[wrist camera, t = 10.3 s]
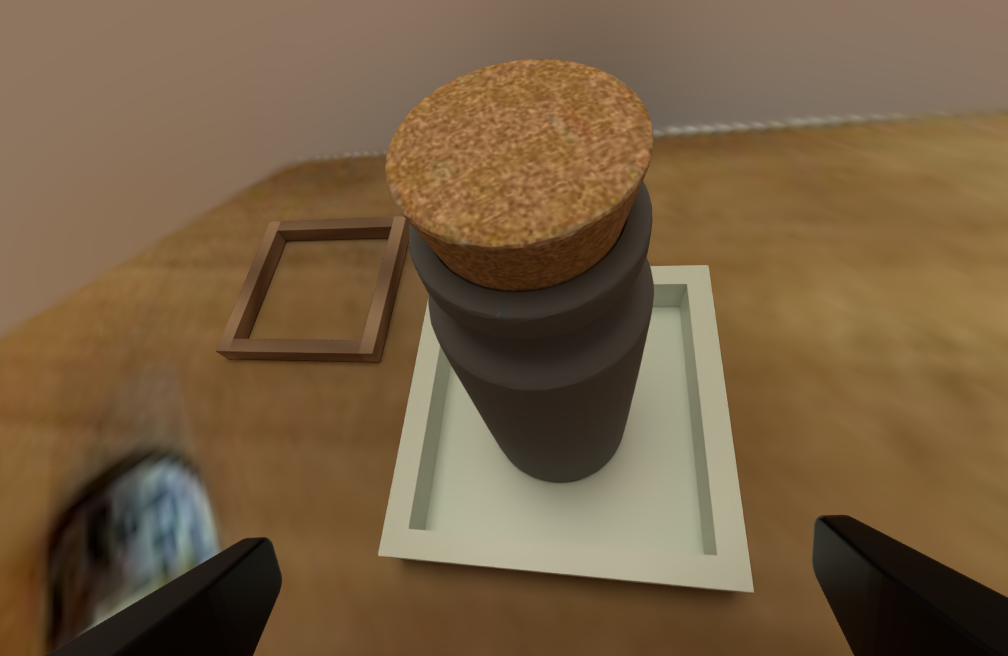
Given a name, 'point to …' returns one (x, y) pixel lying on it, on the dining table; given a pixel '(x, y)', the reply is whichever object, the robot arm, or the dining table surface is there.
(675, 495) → the tray
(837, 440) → the dining table surface
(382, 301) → the seat frame
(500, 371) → the bottle
